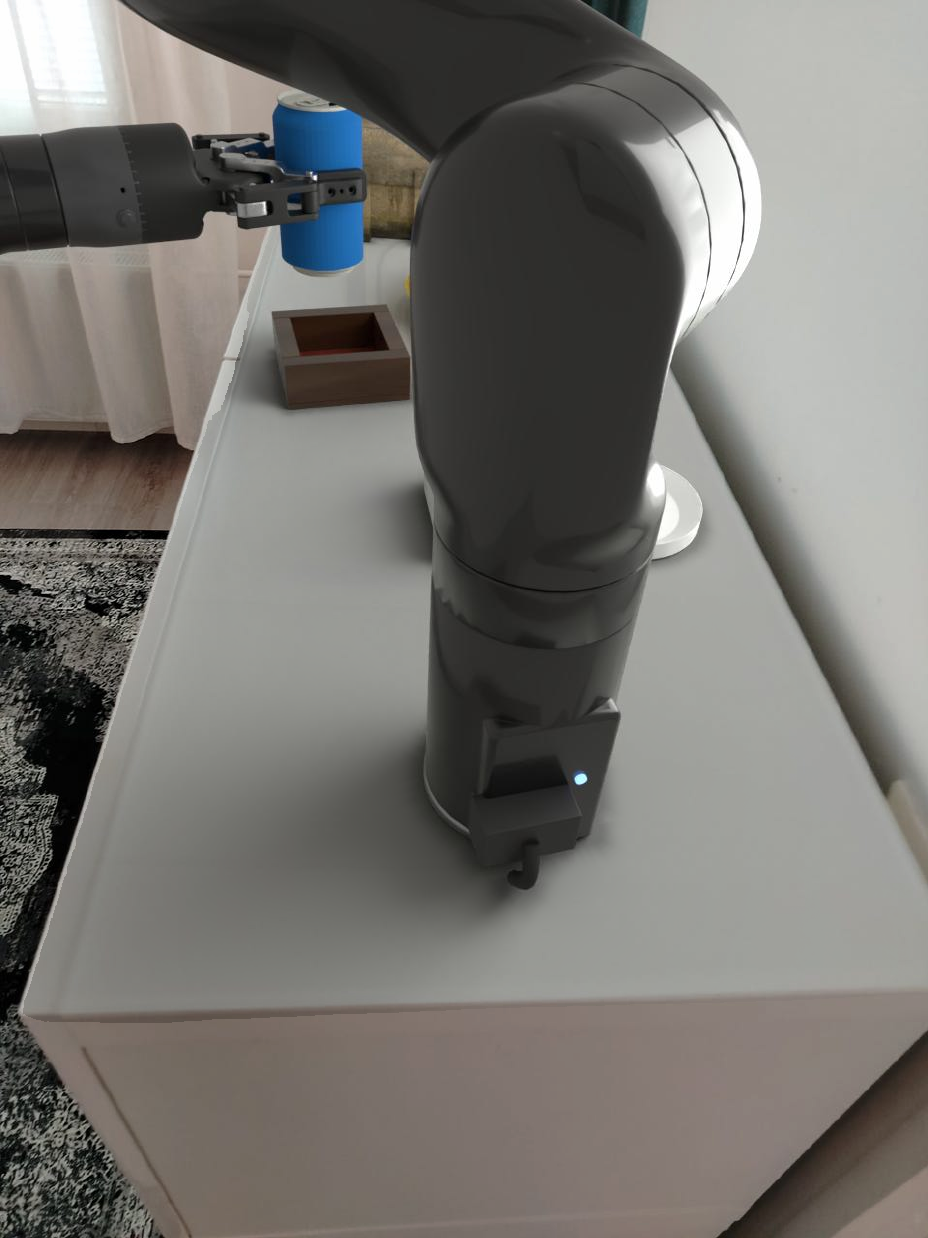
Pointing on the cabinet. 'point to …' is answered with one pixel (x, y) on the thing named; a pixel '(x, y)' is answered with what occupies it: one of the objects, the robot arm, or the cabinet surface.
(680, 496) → the white flat rounded piece
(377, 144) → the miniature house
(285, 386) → the brown wooden open box
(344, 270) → the beverage can
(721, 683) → the cabinet surface
